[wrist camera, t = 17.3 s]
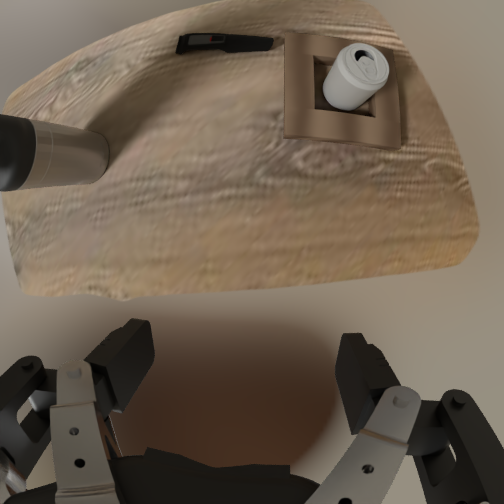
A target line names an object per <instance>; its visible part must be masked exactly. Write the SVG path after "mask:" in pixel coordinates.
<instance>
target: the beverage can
mask: <svg viewBox="0 0 504 504" xmlns="http://www.w3.org/2000/svg"><path fill="white" fill-rule="evenodd" d="M388 74H389V65H388V62H387V60H386V58H385V57H384V56H383V54H382V53H381V52H380V51H378V50H377V49H376V48H374V47H372V46H370V45H367V44H363V43H354V44H351V45H349V46H347V47H345V48H343V49H342V50H341V51H340V53H339V54H338V56H337V58H336V60H335V62H334V64H333V66H332V68H331V70H330V71H329V73H328V75H327V77H326V79H325V81H324V83H323V93H324V96H325V98H326V100H327V101H328V102H329V103H330V104H331V105H332V106H334V107H335V108H337V109H340V110H344V111H350V110H354V109H356V108H358V107H359V106H360V105H361V104H362V103H364V102H365V101H366V100H367V99H368V98H370V97H371V96H372V95H373V94H374V93H375V92H377V91H378V90H379V89H380V88H381V87H383V86H384V85H385V83H386V82H387V79H388Z"/></svg>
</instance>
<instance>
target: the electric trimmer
mask: <svg viewBox="0 0 504 504" xmlns="http://www.w3.org/2000/svg"><path fill="white" fill-rule="evenodd" d="M273 41H274V39H273V38H268V37H259V36H248V35H234V34H221V33H191V34H185V35H183V36H180V37H179V41H178V45H177V48H176V53H178V52H179V54H182V53H183V52H185V51H187V50H209V49H220V50H223V51H225V52H227V53H234V52H252V51H268V50H269V49H270V48H271V46H272V44H273Z"/></svg>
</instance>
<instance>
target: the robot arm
mask: <svg viewBox="0 0 504 504" xmlns="http://www.w3.org/2000/svg"><path fill="white" fill-rule="evenodd" d="M108 161H109V147H108V144H107V141H106V139H105V138H104V137H103V136H102V135H101V134H99V133H96V132H91V131H87V130H83V129H79V128H74V127H69V126H65V125H60V124H54V123H49V122H44V121H38V120H32V119H26V118H20V117H14V116H9V115H2V114H0V191H14V190H22V189H31V188H41V187H52V186H66V185H83V184H91V183H94V182H95V181H97V180H98V179H99V178H100V177H101V176H102V175H103V173H104V172H105V169H106V167H107V164H108ZM154 357H155V350H154V345H153V338H152V332H151V325H150V322H149V321H147V320H141V319H134V318H132V319H130V320H129V321H128V322H127V323H126V324H125V325H124V326H123V327H120V328H119V329H116V330H114V331H113V332H111V333H110V334H109V335H108V336H107V337H106V338H105V340H103V341H102V342H101V343H100V345H98V346H97V347H96V348H95V349H94V350H93V351H92V352H91V353H90V354H89V355H88V356H87V357H86V358H85V359H84V360H71V361H68V362H66V363H64V364H62V365H61V366H60V367H59V368H58V370H55V369H54V370H53V369H45V368H44V366H43V363H42V361H41V359H40V358H39V357H37V356H26V357H23V358H21V359H19V360H18V361H17V362H15V364H13V365H12V366H11V367H10V368H9V369H8V370H7V371H6V372H5V373H4V374H3V375H1V376H0V504H381V503H382V501H383V499H384V497H385V495H386V494H387V492H388V490H389V488H390V486H391V484H392V482H393V480H394V478H395V476H396V474H397V472H398V470H399V468H400V465H401V463H402V461H403V459H404V457H405V455H412V456H413V458H414V462H415V465H416V468H417V471H418V474H419V478H420V481H421V484H422V488H423V491H424V495H425V498H426V502H427V504H504V449H503V447H502V445H501V443H500V441H499V440H498V438H497V436H496V435H495V433H494V431H493V430H492V428H491V426H490V425H489V423H488V422H487V420H486V418H485V417H484V415H483V413H482V412H481V411H480V409H479V407H478V406H477V404H476V403H475V401H474V400H473V398H472V397H471V396H470V395H469V394H468V393H466V392H464V391H462V390H456V389H453V390H448V391H446V392H445V393H444V394H443V396H442V398H441V400H440V401H429V400H428V401H427V400H421V398H420V396H419V394H418V393H417V392H416V391H414V390H413V389H411V388H409V387H405V386H401V384H400V382H399V381H398V379H397V377H396V375H395V374H394V372H393V370H392V369H391V367H390V366H389V363H388V362H387V360H385V357H384V355H383V353H382V351H381V350H379V349H378V348H377V347H376V346H374V345H373V344H367V342H366V340H365V338H364V337H363V335H362V333H343V335H342V337H341V342H340V346H339V351H338V356H337V360H336V365H335V377H336V380H337V384H338V388H339V391H340V395H341V398H342V402H343V405H344V409H345V413H346V416H347V420H348V424H349V427H350V431H351V435H354V434H358V435H357V436H356V438H355V439H354V441H353V442H352V444H351V445H350V447H349V448H348V450H347V451H346V452H345V454H344V456H343V457H342V458H341V459H340V461H339V462H338V463H337V465H336V466H335V467H334V469H333V470H332V471H331V473H330V474H329V475H328V476H327V478H326V479H325V480H324V481H323V483H322V484H321V485H320V484H318V483H316V482H314V481H312V480H310V479H307V478H304V477H301V476H297V475H293V474H290V465H260V464H259V465H258V464H251V465H243V466H233V467H221V468H214V467H210V466H207V465H205V464H202V463H199V462H197V461H194V460H191V459H189V458H187V457H184V456H182V455H179V454H174V453H170V452H165V451H161V450H157V449H153V448H149V447H147V449H146V451H145V454H144V455H132V456H124V457H123V456H122V454H121V451H120V449H119V445H118V442H117V439H116V437H115V433H114V429H113V426H112V422H111V419H110V417H109V413H110V412H111V410H113V411H116V412H119V413H123V411H124V410H125V408H126V406H127V405H128V403H129V402H130V400H131V398H132V396H133V395H134V393H135V392H136V390H137V389H138V387H139V385H140V384H141V382H142V380H143V379H144V377H145V376H146V374H147V372H148V370H149V369H150V368H151V366H152V364H153V362H154ZM27 399H28V400H29V401H30V403H31V405H32V407H33V408H32V410H31V411H30V412H29V413H28V415H27V416H26V417H25V418H24V420H23V421H22V422H21V423H20V425H19V423H18V421H17V411H18V410H19V409H20V407H21V406H22V405H23V404H24V403H25V401H26V400H27ZM50 441H51V442H52V452H53V462H54V469H55V475H56V482H54V483H51V484H48V485H45V486H41V487H38V488H34V489H31V490H27V489H26V479H27V478H28V476H29V475H30V473H31V471H32V470H33V468H34V466H35V465H36V463H37V461H38V460H39V458H40V457H41V455H42V453H43V452H44V450H45V449H46V447H47V446H48V444H49V443H50ZM450 444H451V446H452V448H453V450H454V452H455V455H456V461H455V459H454V456H453V454H452V452H451V450H450V447H449V445H450Z"/></svg>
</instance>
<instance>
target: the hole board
mask: <svg viewBox="0 0 504 504" xmlns="http://www.w3.org/2000/svg"><path fill="white" fill-rule="evenodd" d="M354 43H362V42H357V41H352V40H347V39H341V38H335V37H328V36H321V35H312V34H302V33H288V32H285V38H284V139H299V140H312V141H323V142H333V143H342V144H350V145H358V146H365V147H371V148H378V149H384V150H389V151H395V150H399V149H401V126H400V108H399V95H398V85H397V76H396V68H395V61H394V55H393V50H391V49H387V48H383V47H379V46H375V45H371V44H367V43H363V44H367V45H370V46H372V47H374V48H376V49H377V50H378V51H380V52H381V53H382V54H383V56H384V57H385V58H386V60H387V62H388V65H389V74H388V79H387V82H386V83H385V85H384V86H383V87H381V88H380V89H379V90H378V91H377V92H375V93H374V94H373V95H372V96H371V97H370V98H368V104H369V117H368V116H362V115H356V114H349V113H342V112H334V111H326V110H316V109H315V101H314V64H323V65H330V66H333V64H334V62H335V60H336V58H337V56H338V54H339V53H340V51H341V50H342V49H343V48H345V47H347V46H349V45H351V44H354Z"/></svg>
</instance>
